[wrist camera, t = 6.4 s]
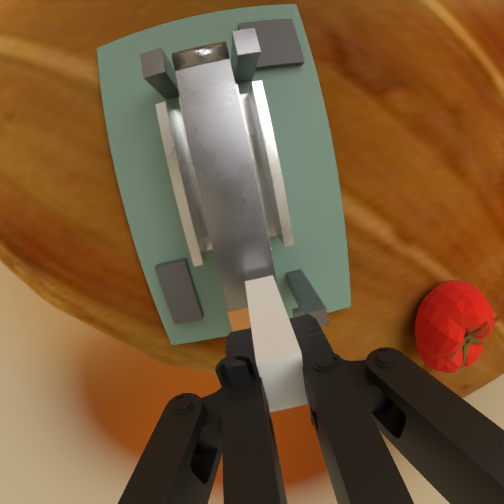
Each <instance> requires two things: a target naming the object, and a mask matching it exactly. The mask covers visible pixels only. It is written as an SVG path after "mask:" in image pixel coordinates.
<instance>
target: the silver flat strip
mask: <svg viewBox="0 0 504 504" xmlns="http://www.w3.org/2000/svg"><path fill="white" fill-rule="evenodd" d="M172 61H173V66H174V69H175V73H176V79H177V84H178V90H179V95H180V101H181V106H182V111H183V116H184V121H185V126H186V131H187V136H188V141H189V146H190V151H191V156H192V160H193V165H194V170H195V174H196V179H197V183H198V188H199V192H200V197H201V201H202V205H203V210H204V214H205V218H206V222H207V227H208V231H209V235H210V239H211V243H212V247H213V251H214V255H215V259H216V263H217V267H218V271H219V275H220V279H221V283H222V287H223V291H224V294H225V298H226V302H227V313H228V317H229V320H230V324H231V328H232V331H238V330H243V329H248V328H251V323H250V316H249V309H248V301H247V294H246V287H245V281H249V280H254V279H258V278H263V277H267V276H272V275H273V277H274V280H275V283H276V285H277V279H276V274H275V269H274V264H273V259H272V254H271V249H270V244H269V239H268V234H267V229H266V224H265V219H264V214H263V209H262V204H261V199H260V194H259V190H258V185H257V180H256V175H255V171H254V166H253V161H252V156H251V152H250V147H249V143H248V138H247V133H246V129H245V124H244V120H243V115H242V111H241V107H240V102H239V98H238V93H237V89H236V85H235V80H234V76H233V72H232V67H231V63H230V59H229V53H228V48H227V44H226V41H223V42H218V43H213V44H208V45H203V46H198V47H194V48H190V49H186V50H182V51H178V52H175V53H172ZM277 288H278V285H277ZM278 291H279V290H278ZM281 299H282V298H281Z"/></svg>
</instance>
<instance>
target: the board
mask: <svg viewBox="0 0 504 504" xmlns="http://www.w3.org/2000/svg"><path fill="white" fill-rule="evenodd" d="M250 28H255V31H256V35H257V39H258V42H259V46H260V50H261V53H260V56H259V59H258V63H257V66H256V69H255V73H254V76H253V80H252V81H248V82H242V83H237V84H238V88H239V93H240V95H241V94H247V93H248V92H249V89H250V85H251V82H254V81H260V80H262V83H263V87H264V92H265V96H266V100H267V105H268V109H269V114H270V118H271V123H272V128H273V132H274V137H275V142H276V147H277V152H278V157H279V162H280V167H281V172H282V177H283V182H284V188H285V193H286V199H287V204H288V210H289V215H290V221H291V227H292V233H293V239H294V245H291V246H287V247H285V246H284V245H283V243H282V242H281V240H280V239H279V237H278V236H277V235H276V236H272V237H270V243H271V248H272V250H271V254H272V259H273V264H274V269H275V274H276V279H277V285H278V290H279V293H280V296H281V298H282V301H283V304H284V307H285V309H286V312H287V315H288V317H289V318H293V313H292V309H293V308H298V306H297V304H296V301H295V299H294V297H293V295H292V293H291V291H290V289H289V286H288V281H287V275H286V272H290V271H295V270H299V269H301V270H302V271H303V273H304V274H305V276H306V277H307V279H308V281H309V282H310V284H311V285H312V287H313V288H314V290H315V291H316V293H317V294H318V296H319V298H320V299H321V301H322V302H323V304H324V305H325V307H326V309H327V313H330V312H333V311H337V310H341V309H344V308H348V307H351V292H350V276H349V263H348V251H347V240H346V231H345V222H344V213H343V206H342V198H341V191H340V184H339V177H338V171H337V165H336V159H335V153H334V148H333V142H332V137H331V132H330V127H329V122H328V118H327V113H326V108H325V104H324V99H323V95H322V91H321V87H320V83H319V79H318V75H317V71H316V67H315V64H314V60H313V56H312V53H311V49H310V46H309V43H308V39H307V36H306V33H305V30H304V26H303V23H302V20H301V17H300V14H299V11H298V8H297V5H296V4H278V5H264V6H253V7H244V8H236V9H229V10H223V11H217V12H212V13H206V14H201V15H197V16H192V17H188V18H184V19H180V20H176V21H172V22H169V23H165V24H162V25H158V26H155V27H152V28H149V29H146V30H143V31H140V32H137V33H134V34H131V35H128V36H126V37H123V38H121V39H118V40H115V41H113V42H111V43H108V44H106V45H103V46H101V47H99V48H97V58H98V69H99V78H100V87H101V95H102V102H103V109H104V116H105V122H106V128H107V133H108V139H109V144H110V149H111V154H112V159H113V163H114V168H115V173H116V177H117V181H118V185H119V189H120V193H121V197H122V201H123V205H124V209H125V213H126V216H127V220H128V223H129V227H130V230H131V234H132V237H133V240H134V244H135V247H136V250H137V253H138V256H139V260H140V263H141V266H142V269H143V272H144V275H145V277H146V280H147V283H148V286H149V289H150V292H151V294H152V297H153V300H154V302H155V305H156V308H157V310H158V313H159V316H160V318H161V321H162V323H163V326H164V328H165V331H166V333H167V335H168V338H169V340H170V343H171V345H178V344H184V343H191V342H197V341H202V340H208V339H214V338H219V337H225V336H228V335H229V333H230V332H233V331H232V328H231V324H230V320H229V317H228V313H227V302H226V298H225V294H224V291H223V287H222V283H221V279H220V275H219V271H218V267H217V263H216V259H215V255H214V251H213V249H212V250H208V251H207V252H206V256H205V260H204V264H203V265H200V266H195V267H194V265H193V262H192V258H191V255H190V251H189V248H188V244H187V240H186V237H185V233H184V229H183V225H182V222H181V218H180V214H179V210H178V206H177V202H176V198H175V194H174V190H173V186H172V181H171V177H170V173H169V168H168V164H167V159H166V155H165V150H164V146H163V141H162V136H161V131H160V126H159V121H158V116H157V111H156V106H155V104H158V103H161V102H166V103H167V104H169V105H170V106H171V107H172V108H173V109H174V110H175V109H179V108H181V107H180V102H179V97H180V96H179V97H175V98H172V99H168V100H166V99H165V98H164V97H163V96H162V95H161V94H160V93H158V92H157V91H156V90H155V89H154V88H153V87H152V86H151V85H150V84H149V83H148V82H147V81H146V80H145V79H144V78H143V72H142V65H141V58H140V54H141V53H144V52H147V51H151V50H154V49H157V48H160V47H161V48H162V49H163V51H164V53H165V54H166V56H167V58H168V59H169V61H170V63H171V64H172V66H173V61H172V53H175V52H178V51H182V50H186V49H190V48H194V47H198V46H203V45H208V44H213V43H218V42H223V41H226V44H227V48H228V53H229V59H230V63H231V50H232V31H236V30H242V29H250ZM173 68H174V66H173ZM232 72H233V71H232ZM233 76H234V75H233ZM235 85H236V84H235Z"/></svg>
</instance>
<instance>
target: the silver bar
mask: <svg viewBox="0 0 504 504" xmlns="http://www.w3.org/2000/svg"><path fill="white" fill-rule="evenodd" d="M260 53H261V50H260V46H259V42H258V39H257V35H256V31H255V28H250V29H242V30H236V31H232V50H231V67H232V71H233V75H234V80H235V84H236V89H237V93H238V98H239V102H240V107H241V111H242V115H243V120H244V124H245V129H246V133H247V138H248V143H249V147H250V152H251V156H252V161H253V166H254V171H255V175H256V180H257V185H258V190H259V194H260V199H261V204H262V209H263V214H264V219H265V224H266V229H267V234H268V239H269V244H270V249H271V250H272V248H271V243H270V237H272V236H276V235H277V236H278V237H279V239H280V240H281V242H282V243H283V245H284V246H285V247H287V246H291V245H294V239H293V233H292V227H291V221H290V215H289V210H288V204H287V199H286V193H285V188H284V182H283V177H282V172H281V167H280V162H279V157H278V152H277V147H276V142H275V137H274V132H273V128H272V123H271V118H270V114H269V109H268V105H267V100H266V96H265V92H264V87H263V83H262V80H260V81H254V82H251V85H250V89H249V92H248V93H247V94H241V95H240V93H239V88H238V84H237V83H242V82H248V81H252V80H253V76H254V73H255V69H256V66H257V63H258V59H259V56H260ZM140 58H141V65H142V72H143V78H144V79H145V80H146V81H147V82H148V83H149V84H150V85H151V86H152V87H153V88H154V89H155V90H156V91H157V92H158V93H160V94H161V95H162V96H163V97H164V98H165V99H166V100H168V99H172V98H175V97H179V96H180V95H179V90H178V84H177V79H176V73H175V69H174V68H173V66H172V64H171V63H170V61H169V59H168V58H167V56H166V54H165V53H164V51H163V49H162V48H161V47H160V48H157V49H154V50H151V51H147V52H144V53H141V54H140ZM179 102H180V107H181V108H179V109H175V110H174V109H173V108H172V107H171V106H170V105H169V104H167V103H166V102H161V103H158V104H155V106H156V111H157V116H158V121H159V126H160V131H161V136H162V141H163V146H164V150H165V155H166V159H167V164H168V168H169V173H170V177H171V181H172V186H173V190H174V194H175V198H176V202H177V206H178V210H179V214H180V218H181V222H182V225H183V229H184V233H185V237H186V240H187V244H188V248H189V251H190V255H191V258H192V262H193V265H194V267H195V266H200V265H203V264H204V260H205V256H206V252H207V251H208V250H212V249H213V247H212V243H211V239H210V235H209V231H208V227H207V222H206V218H205V214H204V210H203V205H202V201H201V197H200V192H199V188H198V183H197V179H196V174H195V170H194V165H193V160H192V156H191V151H190V146H189V141H188V136H187V131H186V126H185V121H184V116H183V111H182V106H181V101H180V97H179ZM286 275H287V281H288V286H289V289H290V291H291V293H292V295H293V297H294V299H295V301H296V304H297V306H298V308H293V309H292V313H293V318H294V317H298V316H302V315H306V314H309V315H311V316H313V317H314V318H316V320H317V321H318V323H319V325H320V327H323V326H327V325H328V320H327V309H326V307H325V305H324V304H323V302H322V301H321V299H320V298H319V296H318V294H317V293H316V291H315V290H314V288H313V287H312V285H311V284H310V282H309V281H308V279H307V277H306V276H305V274H304V273H303V271H302V270H301V269H299V270H295V271H290V272H286Z"/></svg>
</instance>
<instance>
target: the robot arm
mask: <svg viewBox="0 0 504 504" xmlns="http://www.w3.org/2000/svg"><path fill="white" fill-rule="evenodd" d="M245 287H246V294H247V301H248V309H249V316H250V323H251V328H248V329H243V330H238V331H233V332H230V333H229V335H228V337H227V338H226V357H225V358H224V359H222V360H221V361H220V362H219V363H218V364H217V366H216V369H215V371H216V373H217V376H218V378H219V381H220V383H221V386H222V387H221V388H220V389H219V390H218V391H217V392H215V393H213V394H211V395H208V396H206V397H203V398H200V397H199V396H197V395H196V394H192V393H183V394H180V395H177V396H175V397H174V398H173V399H171V400H170V401H169V402H168V404H167V405H166V407H165V409H164V411H163V413H162V415H161V417H160V419H159V421H158V423H157V425H156V427H155V429H154V431H153V433H152V435H151V437H150V439H149V441H148V443H147V445H146V447H145V450H144V452H143V453H142V455H141V458H140V460H139V462H138V464H137V466H136V468H135V470H134V472H133V474H132V476H131V478H130V480H129V482H128V484H127V486H126V488H125V490H124V492H123V494H122V496H121V498H120V500H119V503H118V504H208V500H209V497H210V494H211V490H212V487H213V483H214V480H215V477H216V473H217V470H218V466H219V463H220V459H221V456H222V453H223V491H224V504H287V499H286V494H285V489H284V483H283V478H282V473H281V467H280V462H279V456H278V451H277V445H276V440H275V434H274V429H273V423H272V420H271V417H270V412H274V411H278V410H283V409H288V408H293V407H297V406H301V405H305V404H308V402H309V405H310V412H311V422H312V425H314V427H315V430H316V433H317V437H318V440H319V443H320V446H321V450H322V453H323V456H324V460H325V463H326V466H327V469H328V473H329V476H330V479H331V483H332V486H333V489H334V493H335V496H336V499H337V503H338V504H414V503H413V501H412V498H411V496H410V494H409V492H408V490H407V488H406V485H405V483H404V481H403V479H402V477H401V475H400V473H399V471H398V468H397V466H396V464H395V462H394V460H393V458H392V456H391V454H390V452H389V450H388V448H387V446H386V444H385V442H384V440H383V437H382V435H381V433H380V431H381V432H382V433H383V435H384V436H385V437H386V438H387V439H388V440H389V441H390V442H391V443H392V444H393V445H394V446H395V447H396V448H397V449H398V450H399V452H400V453H401V454H402V455H403V456H404V457H405V458H406V459H407V460H408V461H409V462H410V463H411V464H412V465H413V466H414V467H415V468H416V469H417V470H418V471H419V472H420V473H421V474H422V475H423V476H424V478H426V480H427V481H429V482H430V484H432V486H433V487H434V488H435V489H436V490H437V491H438V492H439V493H440V494H441V495H442V496H443V497H444V498H445V499H446V500H447V501H448V502H449V503H450V504H504V430H503V429H501V428H500V427H499V426H497V425H496V424H495V423H493V422H492V421H491V420H490V419H488V418H487V417H486V416H484V415H483V414H482V413H480V412H479V411H478V410H476V409H475V408H474V407H473V406H471V405H470V404H469V403H467V402H466V401H465V400H463V399H462V398H461V397H459V396H458V395H457V394H455V393H454V392H453V391H451V390H450V389H449V388H447V387H446V386H445V385H444V384H442V383H441V382H440V381H438V380H437V379H436V378H434V377H433V376H432V375H430V374H429V373H428V372H426V371H425V370H424V369H422V368H421V367H420V366H418V365H417V364H416V363H414V362H413V361H412V360H410V359H409V358H408V357H406V356H405V355H404V354H402V353H401V352H400V351H398V350H396V349H394V348H388V347H385V348H379V349H376V350H373V351H372V352H371V353H370V354H369V355H368V357H367V359H366V360H363V361H347V360H343V359H342V358H341V357H340V356H339V355H337V354H335V353H334V352H333V350H332V348H331V346H330V344H329V343H328V341H327V339H326V337H325V335H324V333H323V331H322V329H321V327H320V325H319V323H318V321H317V320H316V318H314V317H313V316H311V315H309V314H306V315H302V316H298V317H294V318H289V317H288V315H287V312H286V309H285V307H284V304H283V301H282V299H281V296H280V293H279V291H278V288H277V285H276V283H275V280H274V277H273V275H272V276H267V277H263V278H258V279H254V280H249V281H245ZM379 430H380V431H379Z"/></svg>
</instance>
